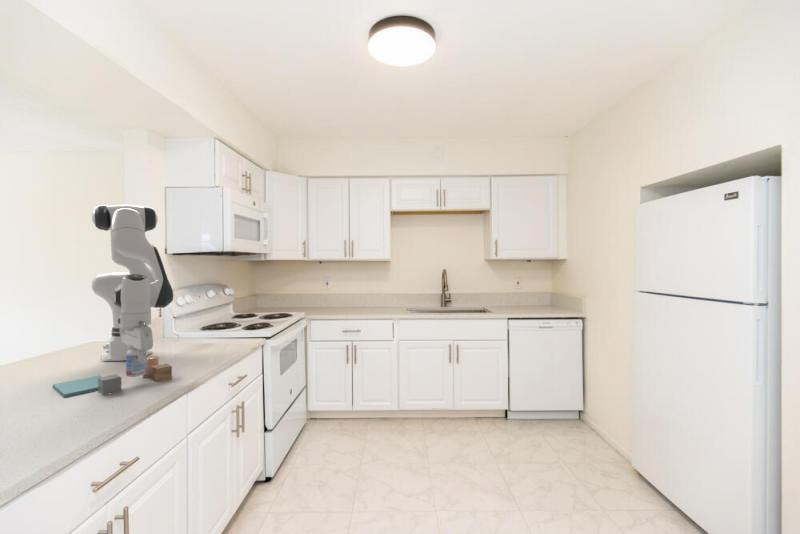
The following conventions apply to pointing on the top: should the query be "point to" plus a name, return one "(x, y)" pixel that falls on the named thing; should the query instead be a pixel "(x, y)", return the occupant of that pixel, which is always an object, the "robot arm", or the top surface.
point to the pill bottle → (135, 363)
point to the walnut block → (161, 372)
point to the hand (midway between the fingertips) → (136, 358)
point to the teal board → (77, 386)
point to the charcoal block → (109, 384)
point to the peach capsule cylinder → (151, 362)
